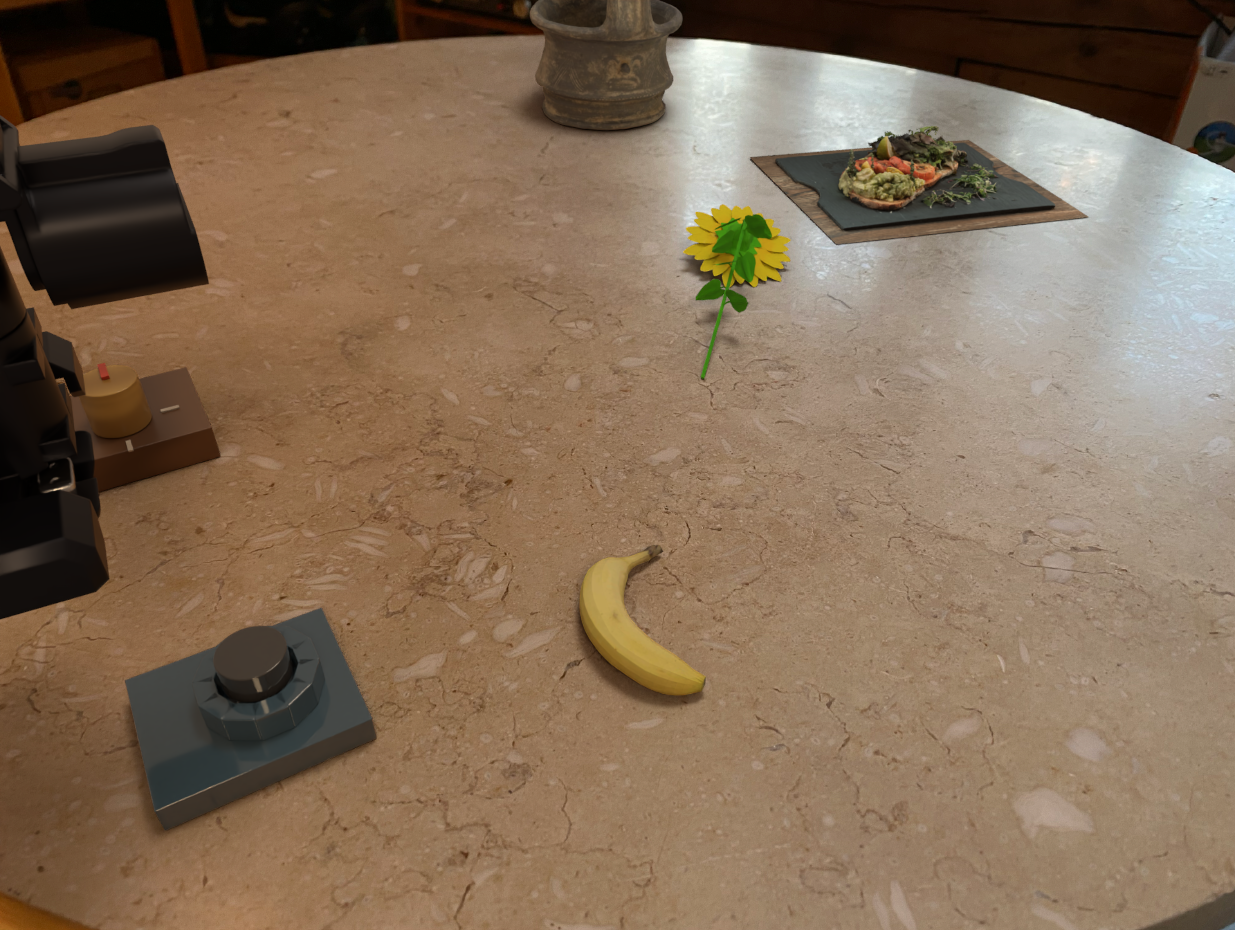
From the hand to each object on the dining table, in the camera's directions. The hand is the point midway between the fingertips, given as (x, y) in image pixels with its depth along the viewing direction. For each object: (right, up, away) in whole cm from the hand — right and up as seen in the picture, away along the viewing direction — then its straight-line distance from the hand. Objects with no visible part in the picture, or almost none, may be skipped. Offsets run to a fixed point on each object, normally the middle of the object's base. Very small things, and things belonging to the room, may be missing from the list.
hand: (74, 587), depth 49 cm
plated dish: (+67, +43, +75) cm, 109 cm away
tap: (-11, +10, +26) cm, 30 cm away
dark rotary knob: (+7, -6, +6) cm, 11 cm away
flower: (+41, +24, +50) cm, 69 cm away
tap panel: (-11, +8, +29) cm, 32 cm away
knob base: (+6, -9, +8) cm, 14 cm away
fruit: (+29, -5, +15) cm, 33 cm away
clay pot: (+26, +61, +95) cm, 116 cm away
